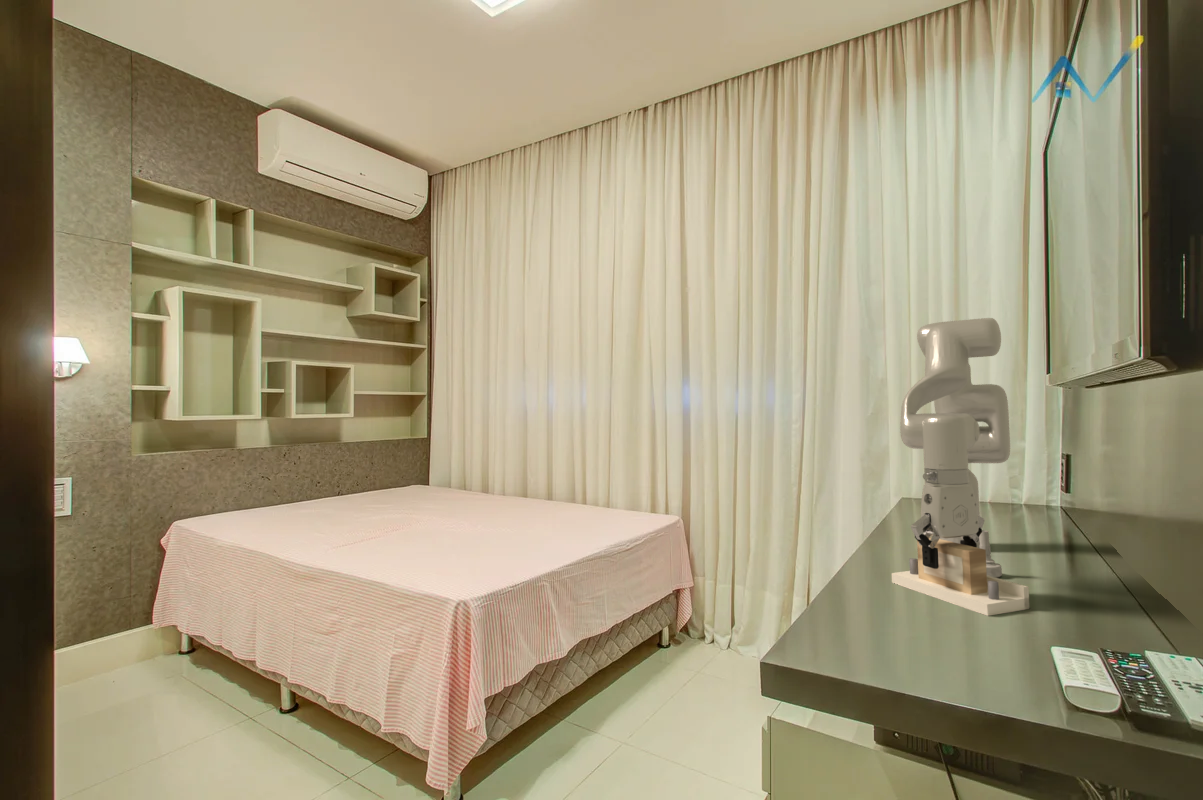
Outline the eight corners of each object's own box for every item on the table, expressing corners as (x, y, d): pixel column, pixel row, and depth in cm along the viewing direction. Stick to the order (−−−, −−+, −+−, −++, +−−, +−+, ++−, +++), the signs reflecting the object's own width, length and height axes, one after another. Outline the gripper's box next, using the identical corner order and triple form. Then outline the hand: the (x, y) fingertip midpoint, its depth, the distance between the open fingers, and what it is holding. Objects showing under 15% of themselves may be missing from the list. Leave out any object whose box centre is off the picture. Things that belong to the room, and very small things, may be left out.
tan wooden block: (918, 578, 120) (916, 539, 120) (933, 576, 121) (932, 537, 121) (970, 594, 109) (968, 551, 109) (987, 592, 110) (985, 549, 110)
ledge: (892, 582, 124) (891, 559, 124) (929, 577, 127) (928, 554, 127) (987, 615, 103) (986, 587, 103) (1029, 608, 106) (1028, 581, 106)
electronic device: (932, 523, 140) (1002, 530, 127) (936, 564, 139) (1006, 576, 127) (920, 526, 137) (991, 534, 124) (924, 568, 136) (995, 581, 124)
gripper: (927, 482, 109) (931, 574, 109) (997, 476, 114) (1001, 564, 114) (896, 478, 116) (899, 564, 116) (963, 473, 122) (966, 555, 121)
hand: (950, 564), depth 115 cm, fingers open, 9 cm apart
